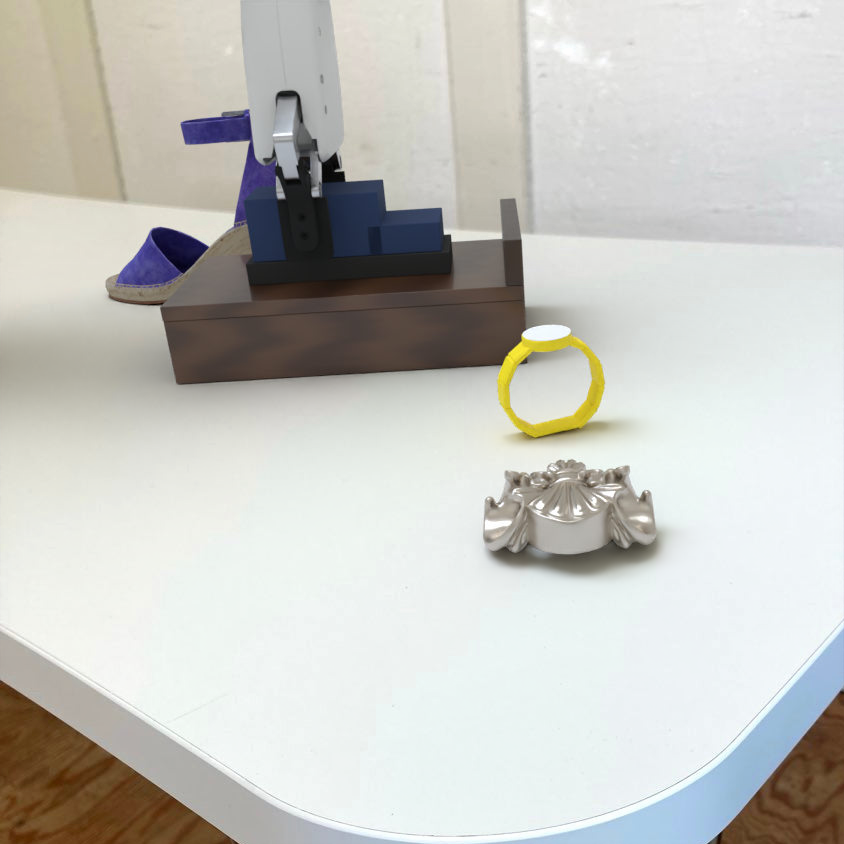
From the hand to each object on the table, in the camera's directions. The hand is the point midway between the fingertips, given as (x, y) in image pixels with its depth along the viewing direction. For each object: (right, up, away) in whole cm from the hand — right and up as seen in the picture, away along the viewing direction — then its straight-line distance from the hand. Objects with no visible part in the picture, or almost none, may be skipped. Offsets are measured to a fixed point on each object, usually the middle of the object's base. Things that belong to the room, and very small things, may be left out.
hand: (320, 242), depth 75 cm
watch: (+16, -14, -13) cm, 25 cm away
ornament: (+16, -20, -25) cm, 36 cm away
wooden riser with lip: (+3, -6, +3) cm, 8 cm away
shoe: (+2, -2, +1) cm, 3 cm away
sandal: (-13, 0, +18) cm, 22 cm away
